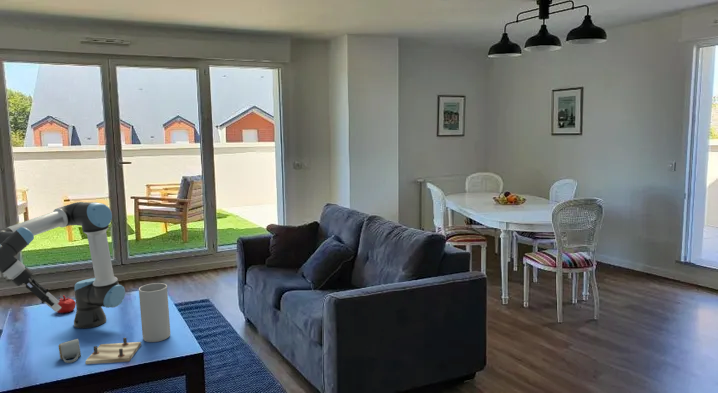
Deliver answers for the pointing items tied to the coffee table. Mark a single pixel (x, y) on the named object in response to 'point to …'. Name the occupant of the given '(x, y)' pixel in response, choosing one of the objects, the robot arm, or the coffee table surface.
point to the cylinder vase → (154, 312)
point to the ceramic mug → (69, 350)
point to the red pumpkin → (66, 305)
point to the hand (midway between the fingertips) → (58, 306)
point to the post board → (113, 352)
